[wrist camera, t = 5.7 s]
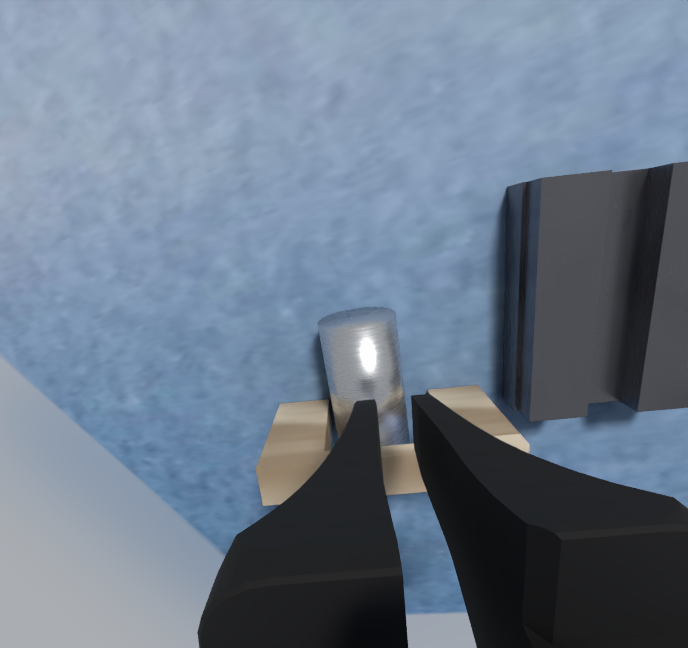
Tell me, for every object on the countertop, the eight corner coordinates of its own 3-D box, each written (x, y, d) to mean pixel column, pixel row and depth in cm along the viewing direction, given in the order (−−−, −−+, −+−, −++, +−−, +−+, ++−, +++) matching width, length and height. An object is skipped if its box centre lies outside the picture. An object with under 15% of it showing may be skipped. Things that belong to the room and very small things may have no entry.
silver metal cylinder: (414, 431, 20) (406, 479, 17) (351, 428, 21) (331, 472, 18) (400, 304, 18) (388, 327, 14) (332, 309, 19) (305, 331, 16)
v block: (653, 383, 20) (700, 406, 17) (502, 397, 20) (526, 422, 18) (687, 166, 17) (750, 154, 14) (507, 186, 17) (536, 178, 14)
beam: (477, 414, 20) (527, 483, 15) (285, 432, 21) (263, 505, 15) (477, 385, 20) (529, 444, 14) (280, 403, 20) (255, 469, 15)
